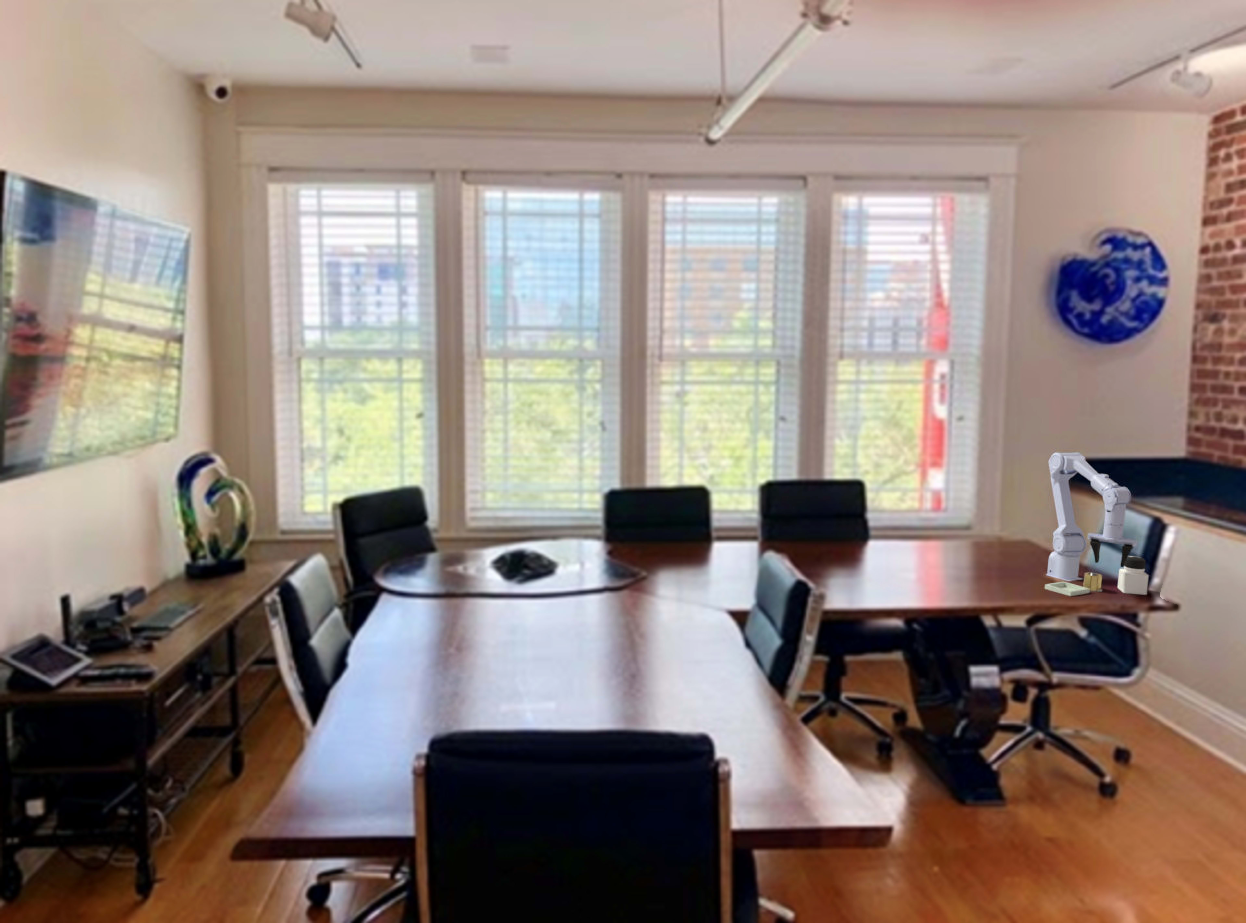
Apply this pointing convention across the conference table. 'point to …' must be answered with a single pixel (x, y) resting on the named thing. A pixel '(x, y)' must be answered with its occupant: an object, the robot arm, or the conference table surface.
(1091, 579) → the collar
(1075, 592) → the tray
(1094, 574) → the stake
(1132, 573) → the medicine bottle
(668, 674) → the conference table surface
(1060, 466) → the robot arm
